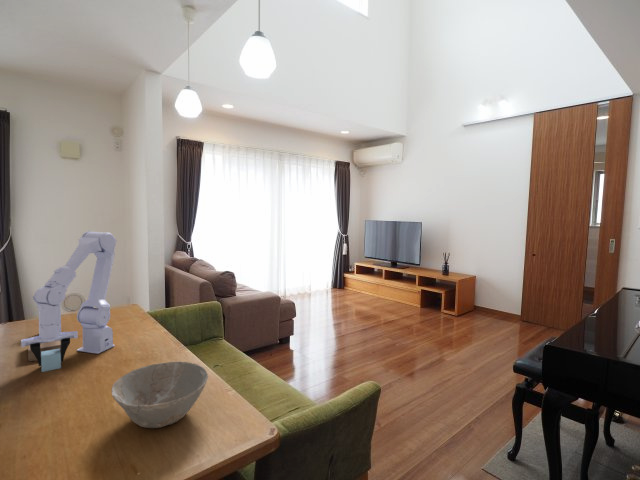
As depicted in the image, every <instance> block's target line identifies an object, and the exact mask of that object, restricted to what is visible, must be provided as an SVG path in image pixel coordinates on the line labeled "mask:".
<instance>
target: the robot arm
mask: <svg viewBox="0 0 640 480" xmlns="http://www.w3.org/2000/svg"><path fill="white" fill-rule="evenodd" d="M116 243H117V239H116V238H115V236H114V234H112V232H110V231H109V232H107V231H106V232H104V231H103V232H101V231H85V232H83V234H82V235H81V237H80V238H79V239H78V245H77V247H76V248H75V250H74V251H73V253H72V254H71V255H70V257H69V259H68V261H67V262H66V264H65V265H64V266H63V265H62V266H59V267H58V268H56V269H55V270H54V272H53V274H52V275H51V277H50V278H49V279H48V280H47V281H46V282H45V283H44V285H43V286H41V287H39V288H38V289H36V291H35V293H34V296H33V295H32V300H33V302H34V303H35V304H36V307H37V310H38V335H36V336H33V337H32V336H31V337H29V338H23V339H20V346H21V347H20V348H25V347H28V345H30V349H31V351H32V352H33V354H34V355H35V357H36V359H37V360H36V361H37V365H38V367H41V353H40V343H46V342H52V341H58V340H61V363H63V362H64V358H65V355H66V352H67V349H68V347H69V345H70V343H71V339H78V338H79V337H78V335H79V334H78V333H79V332H78V331H77V330H74V331H63V332H62V315H61V314H62V311H61V308H62V307H61V303H62V302H63V301H65V299H66V292H67V289H68V287H69V286H70V285H71V283H72V282H73V280H74V279H75V278H76V277H77V274H76V273H77V272H76V270H77V269H78V268H79V267H80V265H82V263H83V262H84V261H85V260H86V259H87V258H88V256H90V254H94V255H95V256H96V261H95V267H94V270H93V271H94V272H93V274H92V279H91V283H90V284H91V285H90V289H89V293H88V299H86V300H85V301H83V302H82V303H81V306H80V309H79V310H78V312H77V315H76V319H77V322H78V323H80V326H81V327H82V346H81V347H79V348H78V349H76V351H77V352H81V353H82V352H84V353H90V354H95V355H96V354H100V353H103V352H105V351H107V350H109V349H111V348H114V347H115V346H116V345H115V344H114V331H113V328H112V327H110V326H108V323H109V322H110V320H111V305H110V303H108V301H107V300H106V298H107V294H108V289H109V284H110V279H111V274H112V270H113V265H114V259H115V249H116V248H115V247H116Z"/></svg>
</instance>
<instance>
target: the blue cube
mask: <svg viewBox="0 0 640 480" xmlns="http://www.w3.org/2000/svg"><path fill="white" fill-rule="evenodd" d="M40 367H41V372H42V373H43V372H49V371H53V370H58V369H59V370H60V369H62V362H61V351H60V348H59V349H54V350H48V351H42V352H41V366H40Z"/></svg>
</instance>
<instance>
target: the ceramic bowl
mask: <svg viewBox="0 0 640 480" xmlns="http://www.w3.org/2000/svg"><path fill="white" fill-rule="evenodd" d="M208 378H209V375H208V372H207V370H206V369H205V368H204V367H203V366H201V365H199V364H197V363H194V362H192V363H191V362H187V361H168V362H159V363H155V364H150V365H146V366H141V367H139V368H136V369H133V370H131V371H130V372H128V373H126V374H124V375H122V376H121V377H119V378H118V379H117V380H115V382H114V383H113V384H112V386H111V395H112V396H111V397H113V399H114V401H116V403H117V405H119V406H120V407H121V408H122V409H123V410H124V411H125V414H126V415H127V416H128V417H129V419H130V420H131V421H132V422H133V423H135V424H136V425H138V427H139V426H140V427H141V428H145V429H158V428H165V426H168V425H173V424H174V423H177V422H178V421H180V420H181V419H182V418H184V416H185V415H186V414H187V413H188V412H189V411H190V410H191V409H192V407H193V406H194V404H195V403H196V402H197V400H198V399H199V398H200V395H201V393H202V392H203V390H204V388H205V386H206V384H207V381H208Z"/></svg>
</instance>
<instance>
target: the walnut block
mask: <svg viewBox="0 0 640 480" xmlns="http://www.w3.org/2000/svg"><path fill="white" fill-rule="evenodd" d="M59 348H60V351H61V340H58V341H52V342H46V343H40V353H41V352H42V351H48V350H54V349H59ZM27 356H28V357H27V360H28V362H34V361H37V359H36V357H35V355H34V354H33V352H32V351H31V349H30V345H28V346H27Z"/></svg>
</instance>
